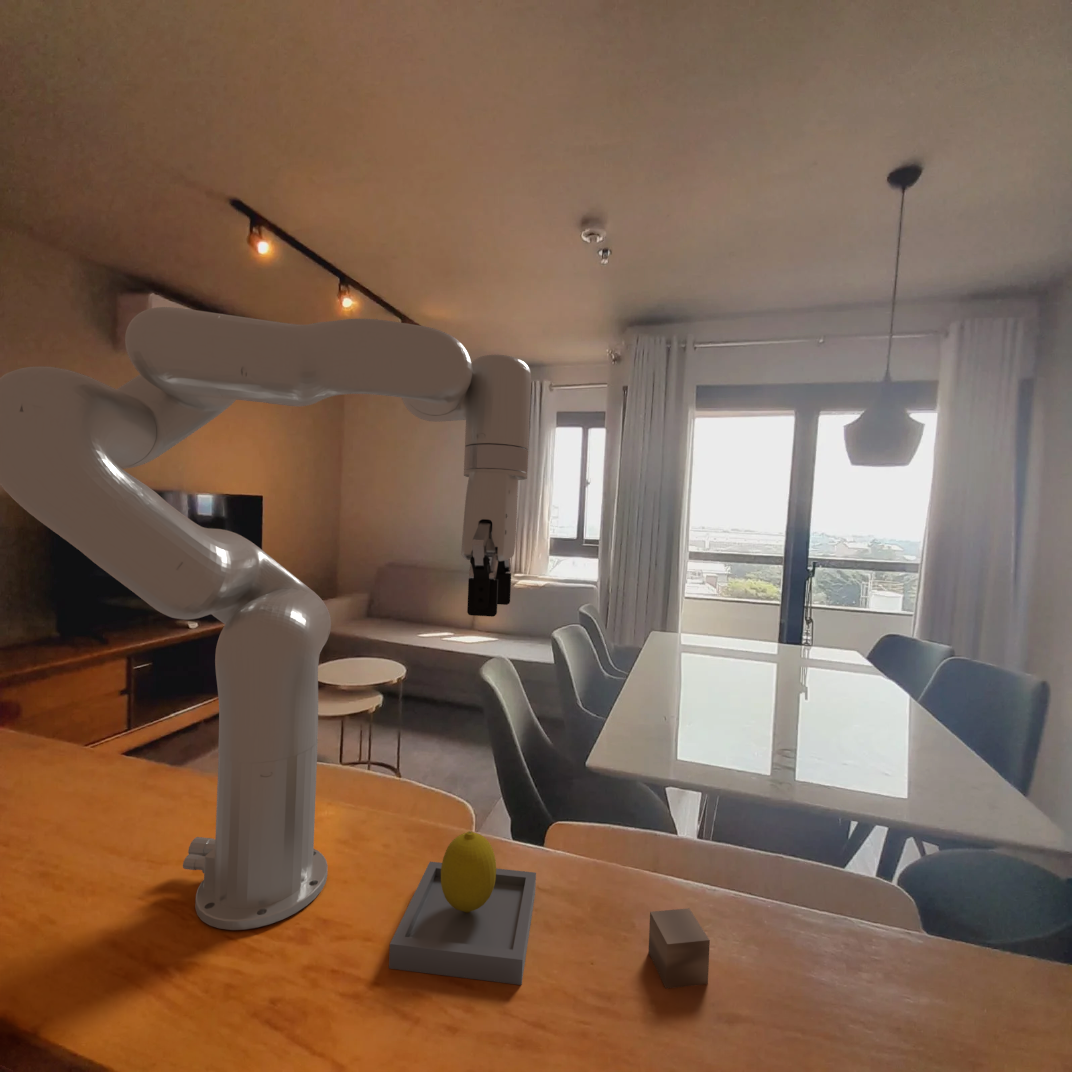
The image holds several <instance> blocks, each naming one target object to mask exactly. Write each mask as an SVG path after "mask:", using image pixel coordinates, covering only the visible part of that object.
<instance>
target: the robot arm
mask: <svg viewBox="0 0 1072 1072" xmlns="http://www.w3.org/2000/svg"><path fill="white" fill-rule="evenodd" d="M124 339H125V340H124V341H125V350H126V353H127V356H128V359H129V360H130V362H131V364H132V366H133V367H134V369H135V370H136V371H137V372H138V373H139V374H137V375H136V376H135V377H133V378H132V379H130V380H129V381H127V382H126V383H124V384H123V385H121V386H119V387H117V388H115V387H112V386H111V385H108V384H106V383H104V382H102V381H100V380H98V379H96V378H93V377H91V376H89V375H86V374H83V373H79V372H77V371H74V370H70V369H66V368H61V367H56V366H55V367H54V366H41V365H40V366H27V367H22V368H18V369H15V370H12V371H9V372H7V373H4V374H3V375H2V376H0V487H2V489H3V490H4V491H5V492H6V494H8V496H10V497H11V498H12V499H13V500H14V501H15V502H16V503H17V504H18V505H19V506H20V507H21V508H22V509H24V510H25V511H26V512H27V513H28V514H30V515H31V516H32V517H34V518H35V519H36V520H37V521H39V522H40V523H41V524H43V525H44V526H45V527H47V528H48V529H50V530H51V531H52V532H54V533H55V534H57V535H58V536H60V538H62V539H63V540H64V541H66V542H68V543H69V544H70V545H72V546H73V547H74V548H76V550H79V551H80V552H81V554H83V555H84V556H86V558H87V559H89V560H90V561H92V562H93V563H94V564H96V565H97V566H98V567H99V568H100V569H102V570H103V571H105V573H106V574H108V575H109V576H111V577H112V578H114V579H115V580H116V581H118V582H119V583H121V584H122V585H123V586H124V587H125V588H127V589H128V590H129V591H132V593H134V594H135V595H136V596H138V597H139V598H141V600H143V602H145V603H147V604H148V605H149V606H150V607H151V608H153V609H154V610H155V611H157V612H159V613H161V614H163V615H165V616H166V617H169V618H172V619H178V620H196V619H200V618H203V617H207V616H209V615H212V616H213V617H214V618H216V619H217V620H218V621H220V622H221V623H223V624H224V626H223V628H222V630H221V631H220V634H219V637H218V640H217V643H216V646H215V647H216V648H215V654H214V655H215V659H214V663H215V664H214V665H215V676H216V685H217V696H218V710H219V711H218V716H219V717H218V751H217V752H218V753H217V754H218V757H217V758H218V760H217V761H218V762H217V765H218V767H217V787H216V790H217V791H216V792H217V793H216V815H215V817H216V818H215V819H216V820H215V837H214V838H210V837H203V836H201V837H200V836H196V837H195V838H193V840H192V841H190V845H189V847H188V851H187V853H188V855H186V857H185V858H184V860H183V863H182V868H183V869H184V870H190V871H191V870H192V871H198V870H199V871H201V872H202V873H203V880H202V881H201V883H200V884H199V886H198V888H197V890H196V894H195V902H194V903H195V906H194V909H195V912H196V916H198V917H199V919H200V920H201V921H202V922H203V923H204V924H207V925H209V926H210V927H214V928H217V929H221V930H227V931H241V930H243V931H244V930H251V929H257V928H262V927H265V926H269V925H272V924H274V923H277V922H280V921H282V920H285V919H287V918H289V917H290V916H293V915H295V914H297V913H298V912H299V911H301V910H303V909H304V908H306V907H307V906H308V905H309V904H310V903H312V901H314V900H315V899H316V898H317V897H318V896H319V894H320V893H321V892H322V891H323V889H324V886H325V885H326V883H327V878H328V868H329V867H328V862H327V858H325V856H324V855H323V853H322V852H320V851H319V850H317V849H315V848H314V847H315V846H314V845H315V844H314V843H315V842H314V841H315V840H314V839H315V823H316V822H315V820H316V819H315V817H316V816H315V815H316V795H317V792H316V791H317V765H318V743H319V742H318V737H319V735H318V734H319V733H318V732H319V660H320V654H321V652H322V650H323V648H324V646H325V645H326V644H327V641H328V639H329V637H330V633H331V628H332V618H331V614H330V611H329V609H328V607H327V605H326V603H325V602H324V600H323V599H322V598H321V597H320V596H319V594H317V593H316V592H315V591H314V590H312V589H311V588H310V587H308V585H306V584H305V583H304V582H303V581H301V580H300V579H299V578H298V577H296V576H295V575H294V574H293V573H292V572H290V571H289V570H288V569H286V568H285V567H284V566H283V565H282V564H280V563H279V562H277V561H276V560H275V559H274V558H273V557H272V556H270V555H269V554H268V553H266V552H265V551H264V550H263V549H261V547H259V546H258V545H256V544H255V543H253V542H252V541H251V540H249V539H248V538H246V537H245V536H242V535H241V534H239V533H237V532H233V531H231V530H227V529H221V528H207V527H203V526H201V525H199V524H197V523H196V522H195V521H193V520H192V519H190V518H189V517H187V516H186V515H185V514H183V513H182V512H180V511H179V510H177V508H175V507H174V506H173V505H171V504H170V503H169V502H167V501H166V499H164V498H163V497H161V496H160V495H159V494H158V493H157V492H156V491H154V490H153V489H152V488H150V487H149V486H148V485H147V484H145V483H143V482H142V481H140V480H139V479H138V478H136V477H135V476H133V475H131V474H130V473H128V472H127V471H126V470H124V469H131V468H132V469H133V468H137V467H139V466H142V465H145V464H148V463H150V462H151V461H153V460H156V459H158V458H159V457H160V456H161V455H163V454H165V453H166V452H167V451H169V450H171V449H172V448H174V447H175V446H177V444H179V443H181V442H182V441H184V440H185V439H187V438H188V437H190V436H191V435H193V434H194V433H195V432H197V431H198V430H200V429H201V428H203V427H204V426H205V425H207V424H208V423H210V422H211V421H213V420H214V419H215V418H217V417H218V416H220V415H221V414H222V413H223V412H225V411H226V410H227V409H228V408H230V407H231V406H232V405H233V404H234V403H235V402H236V401H245V402H255V403H262V404H265V403H266V404H271V405H281V406H288V407H299V408H300V407H306V406H311V405H314V404H317V403H319V402H320V401H323V400H325V399H328V398H331V397H336V396H342V395H375V396H385V397H396V398H401V400H402V402H403V405H404V406H405V408H406V410H408V411H409V412H410V414H412V415H413V416H415V417H416V418H417V419H420V420H423V421H426V422H427V421H428V422H441V423H442V422H456V421H465V430H464V431H465V434H464V437H465V439H464V454H463V455H464V461H463V462H464V464H463V476H464V477H465V478H468V481H467V485H466V491H465V492H466V494H465V500H464V501H465V504H464V512H463V525H462V526H463V527H462V536H461V538H462V539H461V551H460V552H461V554H460V555H461V556H462V558H463V559H464V560H466V561H469V562H470V565H469V571H468V585H467V590H468V591H467V606H466V607H467V611H466V613H467V614H468V615H469V616H474V617H475V616H476V617H478V616H479V617H495V616H496V615H497V613H498V605H506V606H507V605H509V604H510V603H511V593H512V592H511V590H512V587H511V586H512V585H511V584H512V573H511V568H512V565H511V558H513V557H514V555H515V551H516V549H515V548H516V538H517V537H516V536H517V521H518V519H517V518H518V516H517V515H518V488H519V486H518V481H523V480H527V479H528V468H529V467H528V464H529V446H530V445H529V443H530V441H529V440H530V438H529V437H530V413H531V411H530V410H531V391H532V390H531V389H532V372H531V369H530V367H529V366H528V364H527V363H526V362H525V361H524V360H522V359H520V358H517V357H514V356H512V355H507V354H505V355H504V354H487V355H482V356H479V357H477V358H475V359H473V360H472V359H471V357H470V355H469V352H468V350H467V349H466V347H465V346H464V344H463V343H461V342H460V340H458V339H457V338H456V337H454V336H453V335H451V334H450V333H447V332H445V331H442V330H441V329H437V328H434V327H433V328H432V327H429V326H424V325H419V324H412V323H406V322H399V321H394V320H393V321H392V320H384V319H377V318H376V319H375V318H348V319H347V318H346V319H339V320H330V321H319V322H315V323H308V324H296V323H289V322H288V323H287V322H279V321H274V320H273V321H272V320H267V319H258V318H252V317H244V316H238V315H231V314H225V313H218V312H211V311H204V310H196V309H191V308H190V309H189V308H181V307H172V306H171V307H170V306H158V307H151V308H148V309H145V310H143V311H140V312H139V313H137V314H136V315H135V316H134V317H133V318H132V319H131V320H130V322H129V323H128V325H127V327H126V330H125V335H124Z"/></svg>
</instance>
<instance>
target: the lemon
mask: <svg viewBox="0 0 1072 1072" xmlns="http://www.w3.org/2000/svg"><path fill="white" fill-rule="evenodd" d="M441 863H442V867H441V886H442V890H443V893H444V896H445V898H446V900H447V901H448V902H449V904H450V905H451V906H452V907H454V908H455V909H457V910H460V911H464V912H465V913H469V912H470V911H474V910H476V909H478V908H480V907H481V906H482V905H484V903H485V902H486V901H487V900H488V899H489V897H490V895H491V893H492V891H493V888H494V885H495V880H496V868H497V861H496V856H495V852H494V849H493V847H492V845H491V843H490V841H489V840H488V839H487V838H486V837H485V836H483V835H482V834H479V833H477V832H474V831H471V830H469V831H467V832H464V833H461V834H459V835H458V836H456V837H455V838H453V840H451V842H450V843H449V844H448V846H447V847H446V850H445V852H444V855H443V857H442V862H441Z"/></svg>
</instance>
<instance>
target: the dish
mask: <svg viewBox="0 0 1072 1072" xmlns="http://www.w3.org/2000/svg"><path fill="white" fill-rule="evenodd" d="M441 867H442V862H437V861H429V862H428V864H427V867H426V869H425V871H424V872H423V875H422V876H421V879H420V881H419V883H418V885H417V888H416V890H415V891H414V894H413V895H412V898H411V899H410V901H409V904H408V906H407V908H406V910H405V912H404V914H403V916H402V917H401V920H400V922H399V925H398V926H397V928H396V930H395V932H394V935H393V936H392V939H391V941H390V943H389V956H388V959H389V960H388V969H391V970H392V969H393V970H398V971H406V972H413V973H424V974H431V975H438V976H439V975H441V976H446V977H455V978H463V979H471V980H477V981H478V980H479V981H488V982H495V983H503V984H511V985H517V986H518V985H519V986H522V985H523V984H522V983H523V979H524V978H523V977H524V970H525V965H526V964H525V963H526V957H527V950H528V944H529V937H530V932H531V931H530V930H531V925H532V924H531V923H532V917H533V910H534V903H535V896H536V888H537V887H536V884H537V883H536V882H537V880H536V879H537V872H534V871H523V870H515V869H506V868H503V869H502V868H498V867H496V880H495V885H494V888H493V891H492V893H491V895H490V897H489V899H488V900H487V901H486V902H485V903H484V905H482V906H481V907H480V908H478V909H476V910H474V911H470V912H469V913H465V912H464V911H460V910H457V909H455V908H454V907H452V906H451V905H450V904H449V902H448V901H447V900H446V898H445V896H444V893H443V890H442V886H441Z"/></svg>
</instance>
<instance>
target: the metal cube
mask: <svg viewBox="0 0 1072 1072" xmlns="http://www.w3.org/2000/svg"><path fill="white" fill-rule="evenodd" d="M648 930H649V931H648V932H649V933H648V954H649V957H650V958H651V961H652V963H653V965H654V967H655V969H656V972H657V974H658V976H659V977H660V979H661V981H662V984H663V986H664V988H665V989H672V988H682V987H683V988H684V987H691V986H699V985H700V986H701V985H702V986H703V985H707V984H709V967H710V963H709V962H710V941H711V939H710V938H709V937H708V935H707V933H706V932H705V930H704V928H702V926H701V924H700V923H699V921H698V920H697V917H696V916H695V915H694V914H693V912H692V910H691V909H690V907H689V908H679V909H678V908H677V909H666V910H655V911H649V929H648Z"/></svg>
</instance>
